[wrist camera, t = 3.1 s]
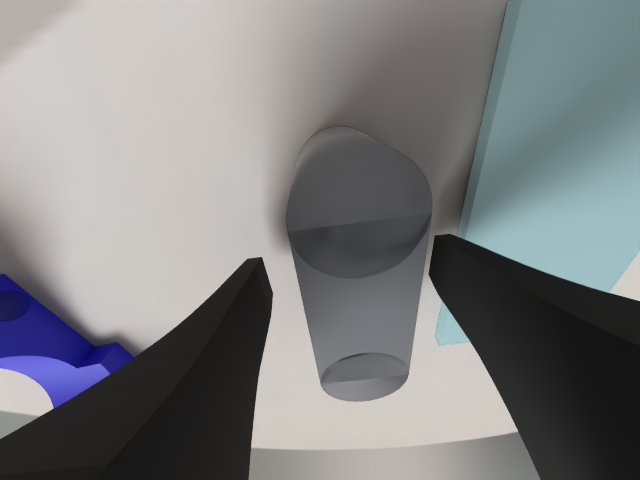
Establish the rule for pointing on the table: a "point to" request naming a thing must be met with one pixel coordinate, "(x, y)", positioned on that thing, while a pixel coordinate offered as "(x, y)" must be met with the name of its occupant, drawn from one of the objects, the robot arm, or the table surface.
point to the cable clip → (50, 347)
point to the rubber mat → (559, 145)
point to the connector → (359, 258)
